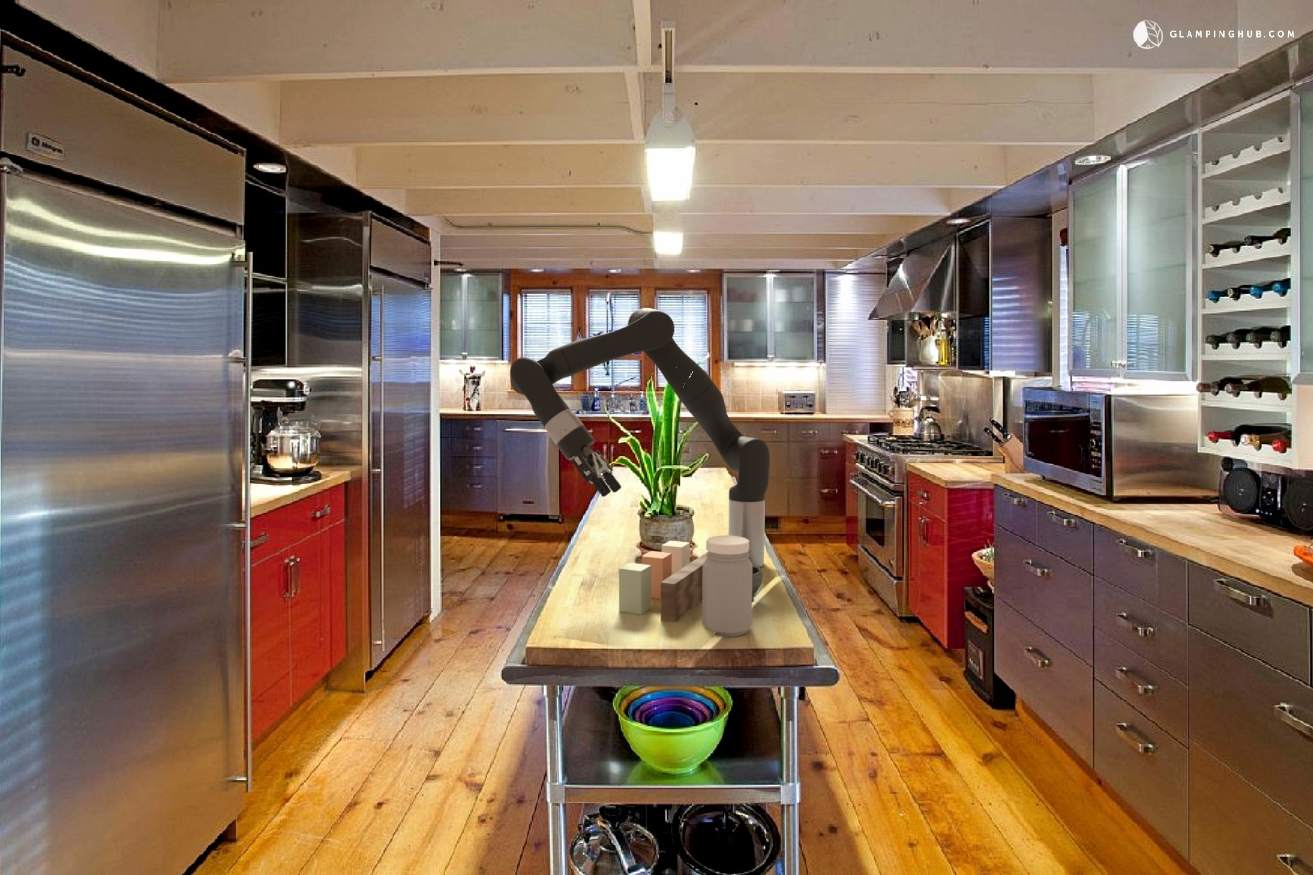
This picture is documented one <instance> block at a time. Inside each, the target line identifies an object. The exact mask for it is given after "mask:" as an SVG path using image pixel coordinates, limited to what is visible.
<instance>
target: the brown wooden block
mask: <svg viewBox="0 0 1313 875" xmlns="http://www.w3.org/2000/svg"><path fill="white" fill-rule="evenodd" d="M707 552H708V551H707ZM707 552H705V553H704V554H702V555H701V556H699V557H697V558H696V559H695V560H693V561H690V564H688V565H687V566H685V567H683V568H682V569H680V570H679V571H677V572H676V573H674V574H673V575H671V576H670V577H668V578H667V579H665V580H664V581H662V582H661V599H660V621H663V622H671V623H676V622H678V620H680V619H681V618H682V617H684V616H685V615H686V614H687V613H688V612H689V611H691V610H693V608H695V607H696V606H697V605H698V604H700V603H702V573H703V563H704V561H705V560H706V559H707V556H706V554H707Z"/></svg>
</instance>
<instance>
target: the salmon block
mask: <svg viewBox="0 0 1313 875" xmlns="http://www.w3.org/2000/svg"><path fill="white" fill-rule="evenodd" d="M641 564H645V565H651V599H657V600H658V599H659V600H661V582H662V581H664V580H665V579H667V578H668V577H670V576H671V575H672V553H664V552H662V551H654V550H651V551H648V552H646V553H644V554H643V555H642V556H641Z"/></svg>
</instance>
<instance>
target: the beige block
mask: <svg viewBox="0 0 1313 875" xmlns="http://www.w3.org/2000/svg"><path fill="white" fill-rule="evenodd" d="M661 552H664V553H672V575H673V574H674V573H676V572H677V571H679V570H680V569H682V568H683V567H685V566H687V565H688V564H690V563H691V559H690V558H691V557H690V556H691V542H688V541H675V540H669V541H667V542H666V543H663V544H661Z"/></svg>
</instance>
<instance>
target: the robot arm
mask: <svg viewBox="0 0 1313 875" xmlns="http://www.w3.org/2000/svg"><path fill="white" fill-rule="evenodd" d="M674 335H675V322H674V321H673V319H672V318H671V316H670V315H669V314H668V313H666V312H664V311H663V310H659V309H656V308H655V309H654V308H649V307H645V308H643V307H642V308H640V309H637V310H635V311H633V312H632V313H631V315H630V316H629V317H628V321H627V325H626V326H624V327H620V328H619V329H616V330H613V331H610V332H607V333H603V334H599V335H594V336H589V337H586V338H581V339H578V340H575V341H573V342H569V343H567V344H564V345H561V346H559V347H556V348H553V349H552V350H550V351H548V353H547V354H546V356H544V357H542V358H541V359H539V360H535V358H533V357H530V356H520V357H518V358H516V359H515V360H514V361H513V362H512V364H511V366H510V369H509V376H510V386H511V387H512V389H513V391H514V392H516V393H517V394H518V395H522V396H525V398H526V400H527V401H528V402H529V404H530V406H531V409H532V411H533V413H534V415H535V416H536V418H537V419H538V420H539V422H540V423H541V425H542V426H543V427H544V429H545V430H546V432H547V434H548V435H549V437H550V438H551V440H552V442H553V443H554V444H555V445H556V447H557V448H558V449H559V450H560V452H561V453H562V455H563V456H564V457H565V458H566V460H568V461H571V463H572V464H573V465H574V467H575V468H576V470H577V471H578V472H579V474H580V475H581V477H582V478H583V479H584V481H585V482H586V483H590V484H591V485H593V486H594V488H595V489H596V490H597V492H598V493H599V494H600V496H601V497H603V498H604V497H607V496H608V495H609V494H611V493H617V492H618V491H619V490H621V489H622V485H621V483H619V481H618V479H617V478H616V477H615V475H614V474H613V473H614V472H613V471H614V468H613V467H612V466H611V465H610V463H609V462H608V461H607V460H606V458H605V457H604V456H603V454H602V453H601V452H600V450H596V451H594V450H593V449H592V448H591V446H593V445H594V444H595V438H594V437H593V435H592V434H591V433H590V432H589V430H588V429H587V428H586V426H585V425H584V423H583V422H582V421H581V419H580V418H579V417H578V416H577V415H576V413H574V412H573V410H572V409H571V408H570V407H569V406H568V404H567V403H566V402H565V400H564V399H563V398H562V396H561V395H560V394H559V393H558V392H557V390H556V388H555V387H554V385H555V384H556V383H557V382H559V381H561V380H563V379H566V378H569V377H572V376H574V375H577V374H580V373H582V372H585V371H587V370H590V369H593V368H594V367H597V366H601V365H602V364H606V363H607V362H610V361H614V360H617V359H619V358H622V357H626V356H630V355H633V354H637V353H642V352H643V353H644V354H645V355H646V356H647V357H648V358H649V359H650V360H651V361H652V362H653V364H654V365H655V366H656V367H657V369H658V370H659V372H660V373H661V374H662V376H663V378H664V379H665V380H666V382H667V383H668V385H669V386H670V388H671V389H672V390H673V392H674V393H675V395H676V396H677V398H678V400H680V402H681V403H682V404H683V406H684V407H685V408H686V410H687V411H688V412H689V413H690V414H691V417H693V418H694V420H695V421H696V422H697V423H698V425H699V426H700V427H701V428H702V430H704V432H705V433H706V434H707V436H708V437H709V438H710V440H711V442H712V443H713V445H714V446H715V448H716V450H717V451H718V453H719V454H720V456H721V459H722V460H723V461H724V463H725V464H726V465H727V466H728V467H729V468H730V469H731V470H733V471H736V472H738V476H737V483H736V484H735V485H733V486H731V487H730V488H729V490H728V535H729V536H739V537H744V538H746V539H748V540H749V550H748V552H747V553H748V554H749V556H750V561H751V563H752V566H755V567H759V568H762V567H764V565H765V523H766V522H765V518H766V517H765V516H766V515H765V513H766V512H765V509H766V508H765V506H766V504H765V503H766V502H765V501H766V492H767V490H768V488H769V478H770V464H771V463H770V462H771V459H770V458H771V455H770V450H769V446H768V444H767V443H766V442H765V441H764V440H762V439H761V438H756V437H750V436H746V435H744V434H743V433H742V432H741V431H739V430H738V428H737V427H736V425H735V424H734V423H733V422H732V420H731V419H730V417H729V415H728V411H727V408H726V404H725V399H724V396H723V394H722V392H721V390H720V388H719V387H718V386H717V385H716V383H715V382H714V381H713V379H712V377H711V376H709V374H708V373H707V372H706V371H705V370H704V369H703V368H702V366H700V365H699V364H698V363H697V362H696V361H694V360H693V359H692V358H691V357H690V356H689V355H688V354H686V352H685V351H683V350H682V348H680V346H679V345H678V344H677V342H676V341H675V339H674ZM676 367H677V368H676ZM692 371H693V373H692ZM690 373H692V375H691V377H690V378H689V379H688V377H689V376H690ZM684 383H686V384H685V385H684ZM683 386H684V388H683ZM611 491H612V492H611Z"/></svg>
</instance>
